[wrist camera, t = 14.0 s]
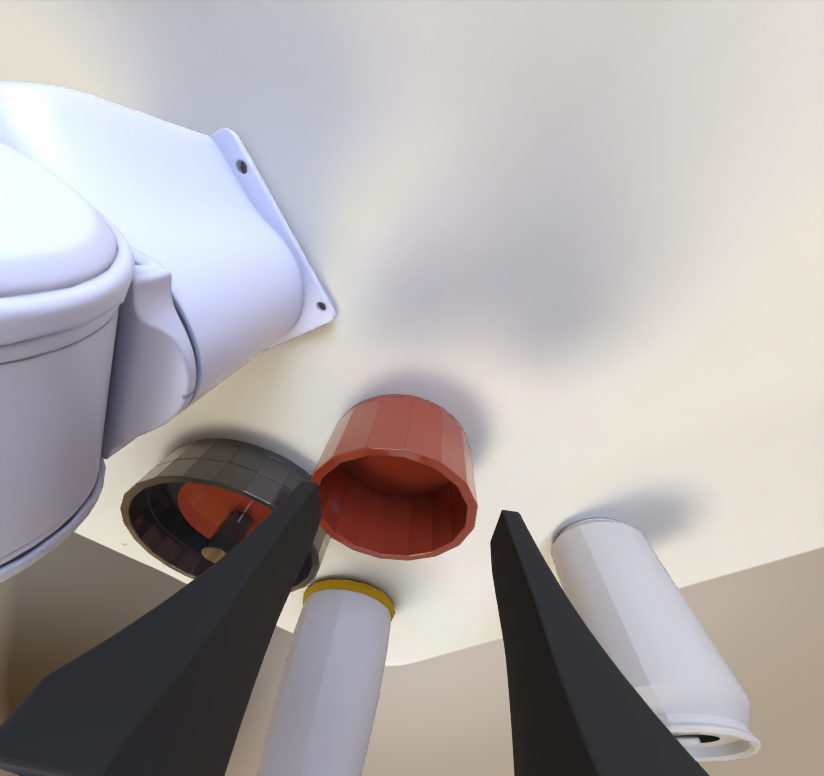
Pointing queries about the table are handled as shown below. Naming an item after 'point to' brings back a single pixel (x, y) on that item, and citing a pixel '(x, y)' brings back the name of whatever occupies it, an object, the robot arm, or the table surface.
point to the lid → (219, 516)
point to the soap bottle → (329, 683)
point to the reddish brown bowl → (397, 480)
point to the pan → (216, 466)
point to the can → (654, 637)
